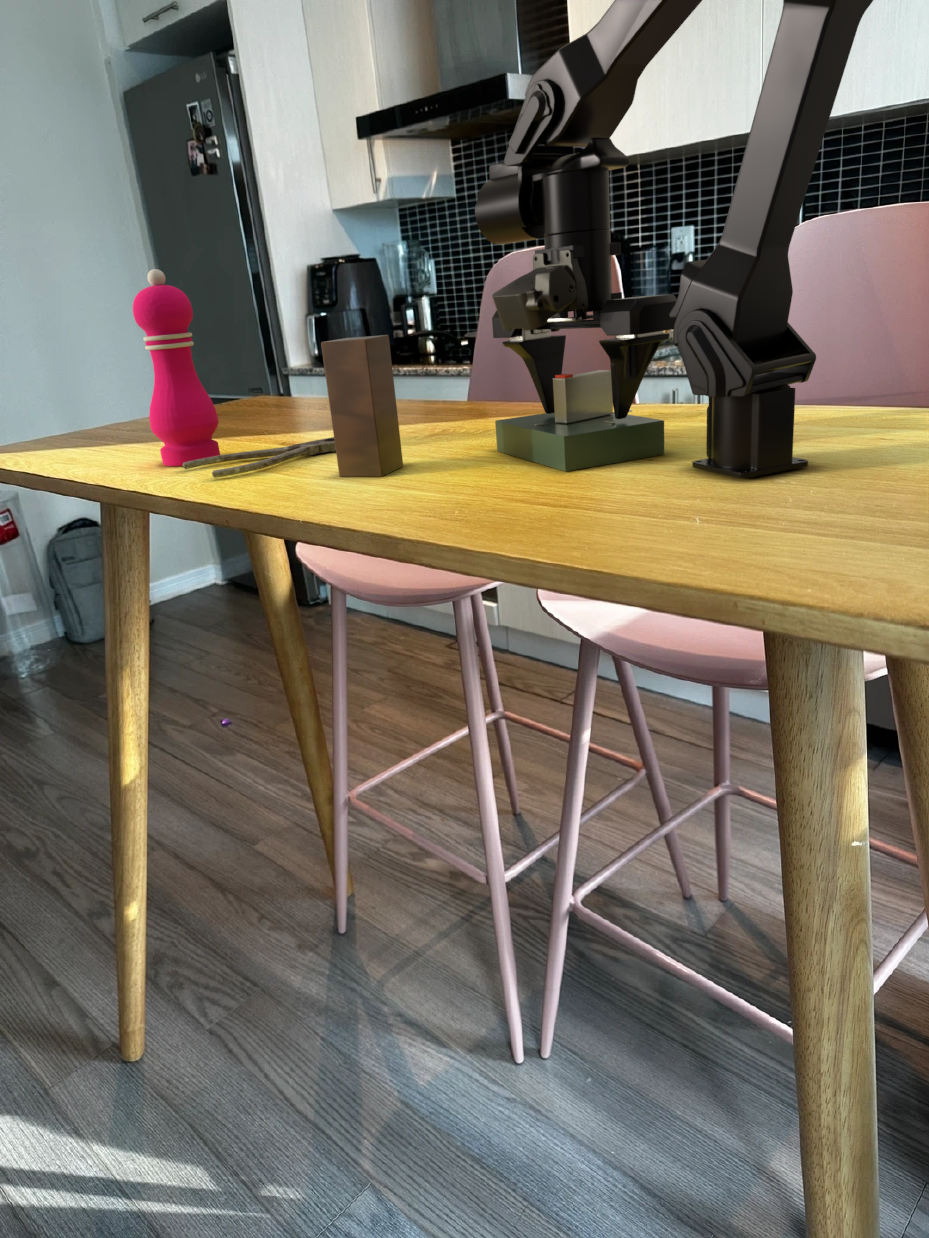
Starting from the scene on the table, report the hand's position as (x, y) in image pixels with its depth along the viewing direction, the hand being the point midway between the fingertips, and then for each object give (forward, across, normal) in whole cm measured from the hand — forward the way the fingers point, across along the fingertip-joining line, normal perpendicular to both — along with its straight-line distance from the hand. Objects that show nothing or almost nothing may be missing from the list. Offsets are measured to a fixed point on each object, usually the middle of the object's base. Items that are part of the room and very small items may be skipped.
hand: (584, 415), depth 82 cm
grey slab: (0, 0, 0) cm, 0 cm away
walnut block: (+3, -12, -17) cm, 20 cm away
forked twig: (+3, -28, -18) cm, 34 cm away
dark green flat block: (+3, 0, -1) cm, 3 cm away
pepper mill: (+4, -37, -24) cm, 45 cm away
